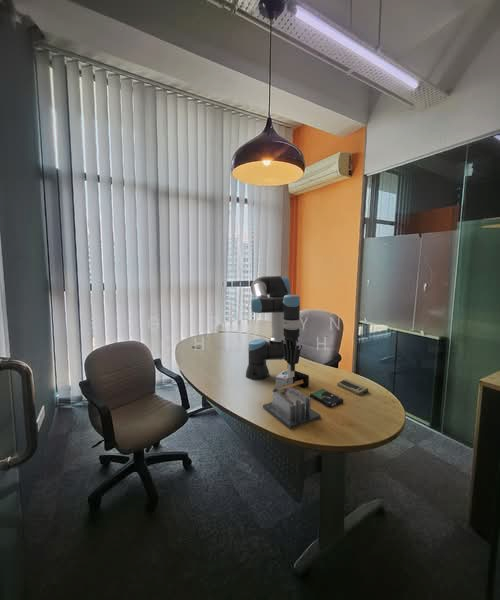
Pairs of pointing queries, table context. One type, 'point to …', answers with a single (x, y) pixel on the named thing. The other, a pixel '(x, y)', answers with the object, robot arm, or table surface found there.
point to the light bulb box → (283, 381)
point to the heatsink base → (291, 422)
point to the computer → (352, 387)
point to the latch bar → (291, 385)
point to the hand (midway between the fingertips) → (291, 376)
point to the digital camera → (303, 377)
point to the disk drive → (326, 398)
